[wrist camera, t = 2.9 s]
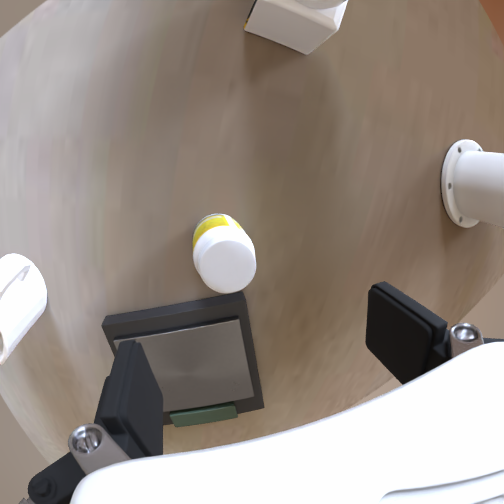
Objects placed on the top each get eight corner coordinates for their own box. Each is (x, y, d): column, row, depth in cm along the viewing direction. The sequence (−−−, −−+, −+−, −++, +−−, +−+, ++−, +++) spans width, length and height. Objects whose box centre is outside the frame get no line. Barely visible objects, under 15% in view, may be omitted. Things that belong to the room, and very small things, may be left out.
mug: (79, 270, 26) (38, 316, 17) (28, 330, 26) (-7, 378, 17) (32, 213, 23) (-24, 236, 14) (-12, 282, 23) (-57, 318, 14)
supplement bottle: (185, 251, 28) (183, 286, 20) (203, 205, 27) (207, 222, 19) (231, 267, 29) (246, 306, 21) (250, 223, 28) (272, 247, 20)
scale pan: (238, 315, 28) (239, 319, 27) (253, 392, 32) (254, 396, 31) (114, 336, 26) (112, 340, 26) (148, 409, 30) (148, 413, 29)
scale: (242, 291, 30) (247, 304, 27) (261, 397, 35) (266, 413, 32) (105, 316, 28) (98, 330, 25) (151, 415, 33) (150, 431, 30)
